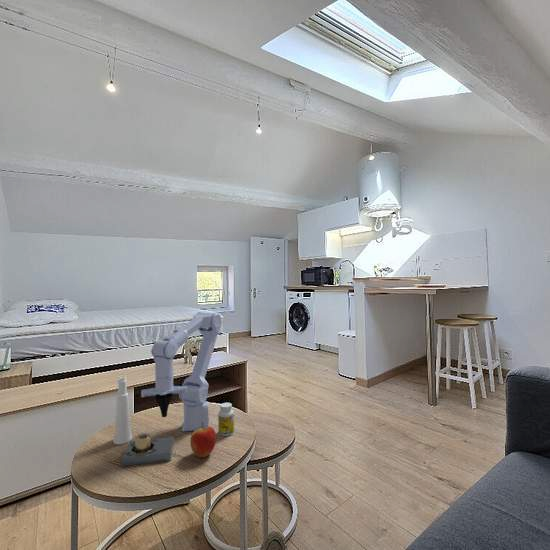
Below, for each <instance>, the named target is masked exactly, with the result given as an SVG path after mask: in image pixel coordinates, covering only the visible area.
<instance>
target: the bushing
mask: <svg viewBox="0 0 550 550" xmlns="http://www.w3.org/2000/svg"><path fill="white" fill-rule="evenodd" d="M151 437H152V436H151V434H150V433H147V432H145V433H144V432H143V433H140V434H138V435H136V436H135V439H134V441H135V453H136V454H137V453H146V452H147V451H149V450H151V439H152V438H151Z"/></svg>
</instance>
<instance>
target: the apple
mask: <svg viewBox="0 0 550 550" xmlns="http://www.w3.org/2000/svg"><path fill="white" fill-rule="evenodd" d="M202 425H203V423H202ZM189 442H190V448H191V450H192V453H193V454H194V455H195V456H197V457H199V458H206V457H207V456H209V455H210V454H211V453H212V452H213V450H214V449H215V446H216V442H217V435H216V432H215V429H214V427H211V426H208V427H206V428H201V429H197V430H193V432H192V433H191V435H190V440H189Z"/></svg>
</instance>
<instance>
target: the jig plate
mask: <svg viewBox="0 0 550 550" xmlns="http://www.w3.org/2000/svg"><path fill="white" fill-rule="evenodd" d="M174 445H175V437H174V436H170V437H169V436H168V437H160V438H159V437H158V438H151V450H149V451H147V452H146V453H137V454H136V453H135V440H133V441H132V440H130V441H129V442H128V445H127V446H126V449H125V451H124V454H122V455H123V456H122V457H121V467H122V468H123V467H129V466H137V465H138V466H139V465H146V464H154V463H162V462H169V461H171V460H172V454H173V450H174Z"/></svg>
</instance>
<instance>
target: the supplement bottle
mask: <svg viewBox="0 0 550 550" xmlns="http://www.w3.org/2000/svg"><path fill="white" fill-rule="evenodd" d="M217 416H218V417H217V418H218V421H217V422H218V434H219V435H220V436H221V435H222V437H229V435H230V436H232V435H233V434H234V433H235V411H234V410H233V404H232V403H230V402H223V403H221V404H220V405H219V411H218V414H217Z"/></svg>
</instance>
